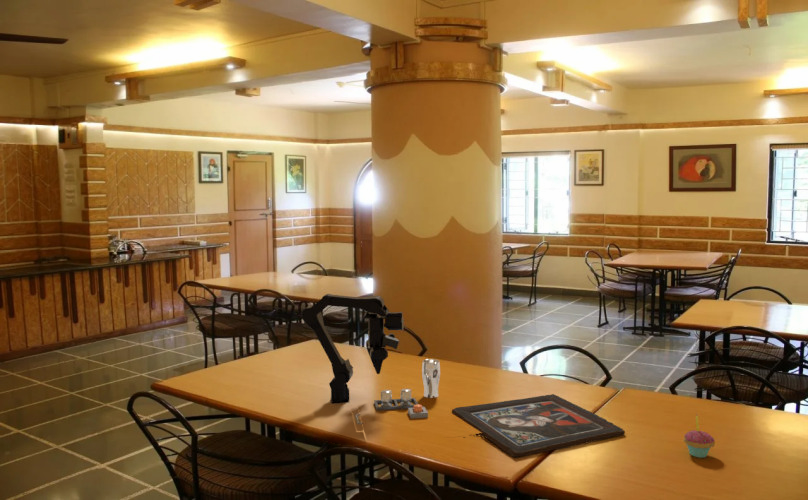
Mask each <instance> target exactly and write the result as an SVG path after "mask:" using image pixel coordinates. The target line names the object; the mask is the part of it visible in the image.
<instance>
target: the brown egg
mask: <svg viewBox="0 0 808 500" xmlns="http://www.w3.org/2000/svg"><path fill="white" fill-rule="evenodd" d="M413 405H414V412H422V407H423V405H422V404H419V403H418V404H417V405H415V404H413Z"/></svg>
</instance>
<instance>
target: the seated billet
mask: <svg viewBox="0 0 808 500" xmlns="http://www.w3.org/2000/svg"><path fill="white" fill-rule="evenodd" d="M411 398H412V389H410V388H402V389H400V399H401V402H400V405H412V402H411Z"/></svg>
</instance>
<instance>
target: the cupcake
mask: <svg viewBox="0 0 808 500" xmlns="http://www.w3.org/2000/svg"><path fill="white" fill-rule="evenodd" d="M695 414H696V416H695V429H694V430H689V431H687V432H686V433H685V434H684V435H683V436H684V438H683V442H684V443H685V444H686V446H687V449H688V452H689V455H691V456H692V457H695V458H703V459H704V458H706V457H707V456H708V454H709V451H710V449H711V448H714V447H715V445H716V441H715V438H714V437H713V436H712V435H711V434H709V433H708V432H705V431H702V430H699V416H698V413H695Z"/></svg>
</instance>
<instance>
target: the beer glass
mask: <svg viewBox="0 0 808 500" xmlns="http://www.w3.org/2000/svg"><path fill="white" fill-rule="evenodd" d="M421 376H422V378H421V379H422V382H423V388H424V389H423V396H424V398H427V399H434V398H438V397H439V396H440V395H439V383H440V379H441V365H440V360H439V359H436V358H426V359H423V360H422V366H421Z"/></svg>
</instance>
